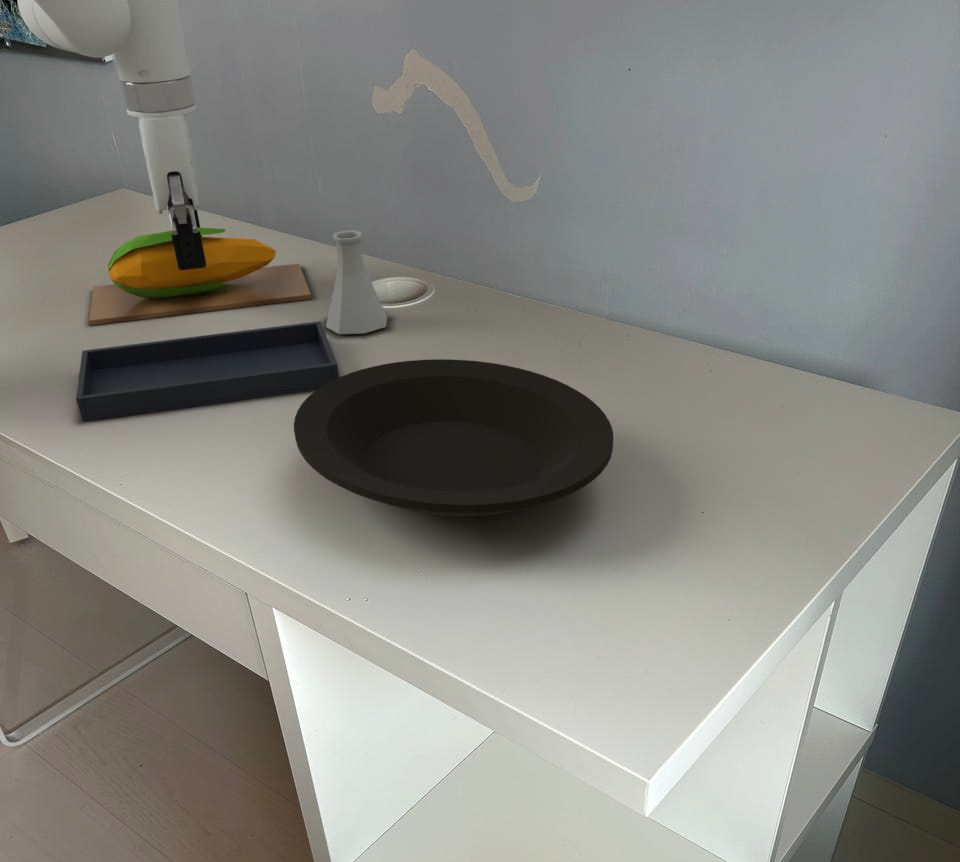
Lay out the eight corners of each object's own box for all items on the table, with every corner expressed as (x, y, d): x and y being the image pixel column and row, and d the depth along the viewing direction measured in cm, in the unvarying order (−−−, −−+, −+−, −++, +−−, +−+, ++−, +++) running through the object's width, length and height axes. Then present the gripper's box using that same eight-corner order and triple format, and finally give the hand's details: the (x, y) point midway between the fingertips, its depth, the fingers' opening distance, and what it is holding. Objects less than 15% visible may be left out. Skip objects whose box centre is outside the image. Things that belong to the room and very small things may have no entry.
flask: (319, 318, 115) (307, 229, 108) (379, 309, 116) (371, 221, 110) (333, 340, 109) (321, 248, 103) (395, 330, 111) (388, 239, 105)
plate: (241, 484, 85) (229, 424, 82) (435, 391, 98) (432, 336, 95) (479, 611, 70) (476, 546, 66) (669, 481, 83) (676, 421, 80)
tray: (82, 421, 95) (75, 398, 94) (88, 372, 105) (82, 350, 103) (339, 386, 100) (337, 364, 98) (323, 342, 109) (320, 320, 108)
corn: (97, 227, 117) (265, 206, 122) (114, 290, 122) (274, 267, 127) (101, 250, 112) (276, 227, 116) (118, 314, 117) (285, 290, 122)
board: (90, 325, 115) (88, 320, 115) (94, 291, 124) (93, 286, 124) (311, 299, 120) (310, 294, 119) (299, 267, 129) (299, 263, 128)
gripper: (125, 85, 114) (159, 238, 125) (122, 114, 101) (160, 282, 112) (191, 80, 115) (219, 232, 126) (197, 108, 102) (227, 275, 113)
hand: (191, 255), depth 119 cm, fingers open, 9 cm apart
